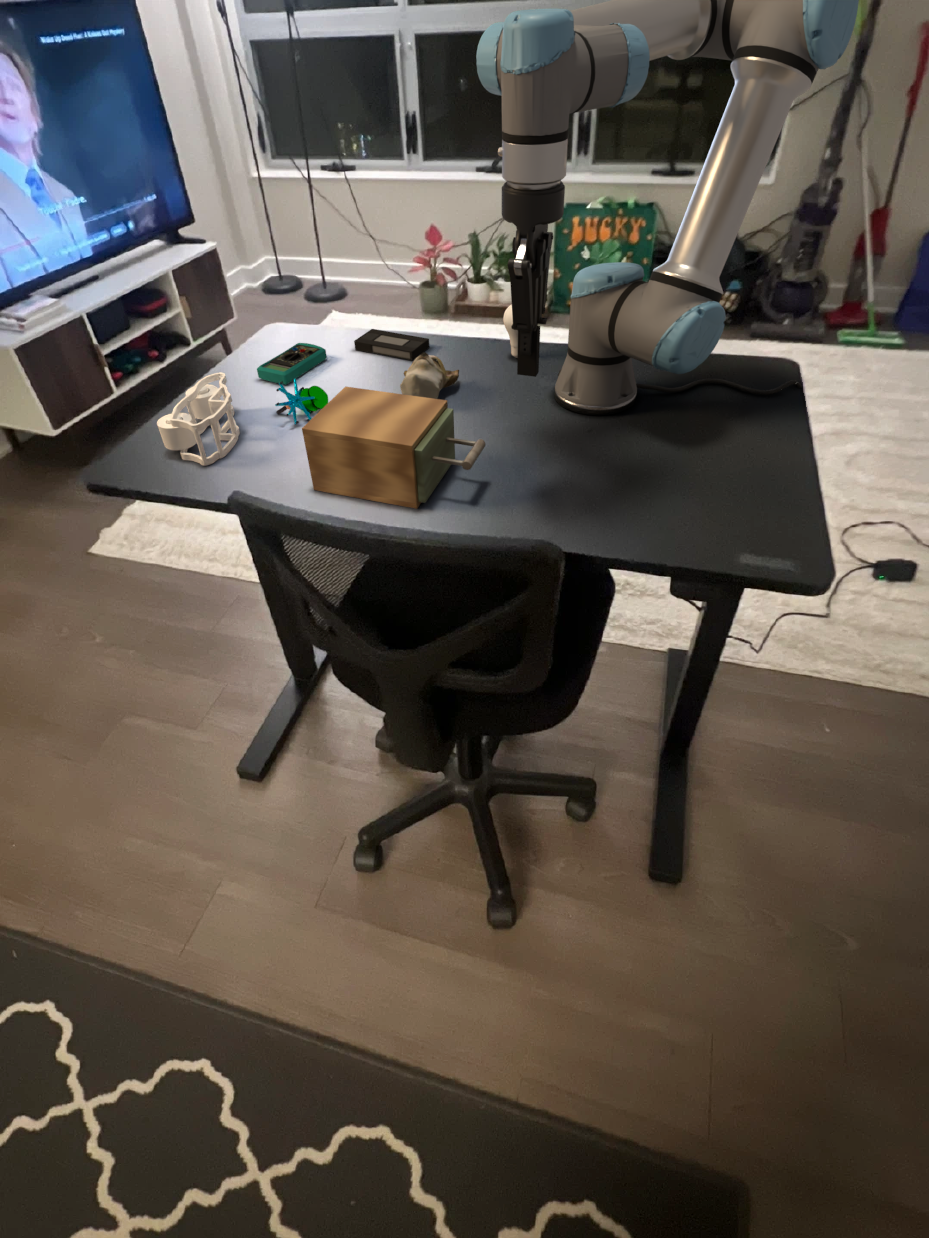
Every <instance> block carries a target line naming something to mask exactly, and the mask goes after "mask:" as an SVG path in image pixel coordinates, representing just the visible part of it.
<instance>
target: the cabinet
mask: <svg viewBox="0 0 929 1238" xmlns="http://www.w3.org/2000/svg"><path fill="white" fill-rule="evenodd" d="M448 404H449V403H448V400H446V399H440V398H437V399H433V398H426V397H418V396H411V395H404V394H402V393H398V392H397V393H396V392H389V391H380V390H375V389H368V388H367V389H366V388H360V387H354V386H353V387H352V386H347V385H346V386H344V387H343V388H342V389H341V390H340V391H339V392H338V393H337V394H336V395H335V396H334V397H333V398H332V399H331V400H329V401H328V404H327V405H326V406H325V407H324V408H322V409H319V410H318V412H317V413H316V414H315V415H314V416H313V417H311V418H312V419H311V420H310V421H307V423H306V424H304V426H303V427H301V433H302V436H303V440H304V447H305V452H306V456H307V457H306V458H307V463H308V467H309V471H310V476H311V477H310V478H311V483H312V487H313V488H312V489H313V491H317V492H322V493H328V494H333V495H339V496H345V497H350V498H356V499H361V500H366V501H372V502H377V503H383V504H388V505H394V506H400V507H404V508H410V509H415V510H417V509H418V508H419V506H420V505H421V504H422V502H419V501H418V491H417V478H416V466H415V453H414V448H415V447H416V446H417V445H418V443H419V442H420V441H421V439H422V438H423V437H424V436H425V434H426V433H427V432H428V430H429V429H430V428H431V426H432V425H433V424H434V423H435V421H436V420H438V418H439V417H440V416H441V415H442V413H443V412H444V411H445V409H446V408H449V406H448Z"/></svg>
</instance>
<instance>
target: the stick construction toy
mask: <svg viewBox="0 0 929 1238" xmlns="http://www.w3.org/2000/svg"><path fill="white" fill-rule="evenodd" d="M282 383H283V381H281V382H280V383H278V385H279V387H278V388H277V389H276V392H281V393H282V394H283V395H285V397H286V399H287V401H283V402H277V403H275V404H274V406H275V407H280V408H279V409H277V410H276V414H277V415H281V414H282V413H284V412H285V411H287V410H289V411H288V412H287V413H286V414H285V416H286V417H289V416H291V415H292V419H293V424H294V425H297V424H299V420H297V419H298V418H297V409H298V410H301V411H302V412H303V413H304V414H305V417H307V419H306V421H307V422H309V421H310V420H311V419H312V418H313V417H311V415H312V414H313V413H315V412H317V411H320V410H321V409H322V408H324V407H325V406H326V405H327V404H328V403H329V395H328V393H327V392H326V391H325V390H324V389H323V388H322V387H320V386H318V385H311V386H310V387H304V386H302V387H300V388H299V387H298V381H297V378H294V379H293V380H292V383H293V388H294V389H293V390H294V394H293V393H291V392H289V391H287V389H286V388H285V386H284V384H282ZM296 408H297V409H296Z"/></svg>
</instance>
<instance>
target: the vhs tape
mask: <svg viewBox="0 0 929 1238" xmlns="http://www.w3.org/2000/svg"><path fill="white" fill-rule="evenodd" d="M353 342H354V350H355V351H359V352H364V353H370V354H374V355H379V356H385V357H389V358H390V357H391V358H396V359H402V360H407V361H411V362H413V361H414V360H415V358H417V357H418V356H420V354H421V353H424V352H426V351H427V350H428V349H430V338H428V337H423V336H422V337H421V336H417V335H416V336H415V335H411V334H404V333H399V332H393V331H388V330H387V331H386V330H381V329H375V328H371V329H369V330H368V331H365V332H364V334H362V335H361V336H359V337H357V338H356V339H355V340H353Z"/></svg>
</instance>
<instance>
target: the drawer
mask: <svg viewBox="0 0 929 1238" xmlns="http://www.w3.org/2000/svg"><path fill="white" fill-rule="evenodd" d="M454 413H455V411H454V408H451V407H450V408H449V407H448V408H446V409H445V411H444V412H443V413H442V415H441V416H440V417H439V418H438V420H436V421H435V423H434V424H433V425H432V426H431V428H430V429H429V430H428V432H427V433H426V434H425V436H424V437H423V438H422V439H421V441H420V442H419V443H418V445H417V446H416V447H415V448H414V453H415V466H416V478H417V491H418V501H419V502H421V503H424V504H426V503H427V501H428V499H429V498H430V496H431V495H432V494H433V492H434V491H435V489H436V488H437V487H438V485H439V483H440V482H441V480H442V479H443V478H444V476H445V475H446V473H447V471H448V470H449V469H450V467H451V466H452V465H453V466H459V467H462V469H463V470H465V471H469V470H471V469H472V468H473V466H474V464H475V463H476V461H477V460H478V458H479V456H480V455H481V454H482V452H483V450H484V449H485V447H486V442H485V440H484V439H482V438H478V439H477V440H476V441H474V440H468V439H461V438H455V415H454ZM456 445H462V446H468V447H472V448H471V449H470V450H469V452H468V453H467V455H466V456H465V459H463V460H460V459H456Z"/></svg>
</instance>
